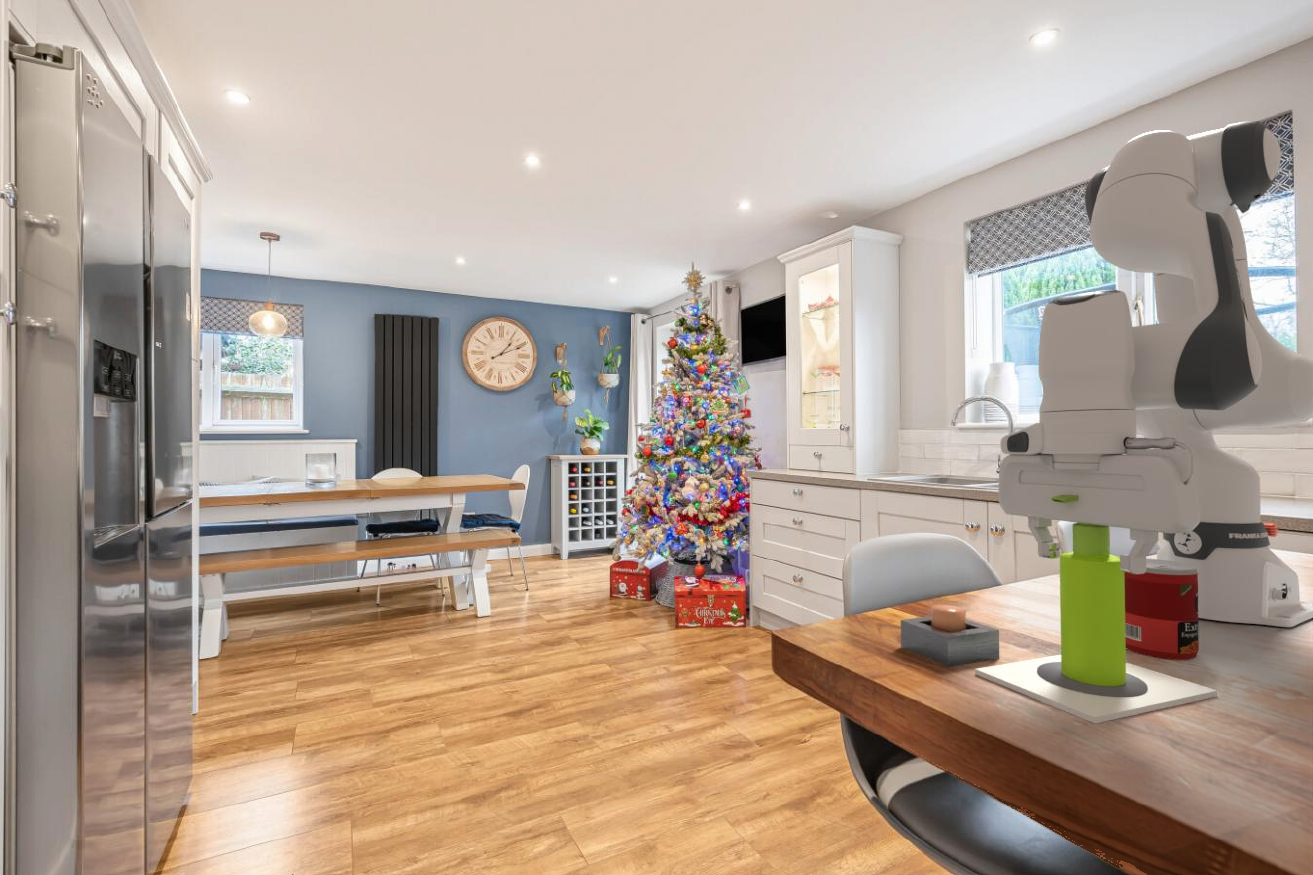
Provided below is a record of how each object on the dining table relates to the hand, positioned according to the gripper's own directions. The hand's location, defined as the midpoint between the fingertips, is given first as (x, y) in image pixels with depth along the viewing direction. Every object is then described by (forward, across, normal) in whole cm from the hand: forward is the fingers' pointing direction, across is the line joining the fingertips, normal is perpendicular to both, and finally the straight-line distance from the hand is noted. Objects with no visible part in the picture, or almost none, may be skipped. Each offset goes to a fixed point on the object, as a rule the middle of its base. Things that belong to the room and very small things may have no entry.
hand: (1088, 564), depth 71 cm
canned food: (+13, +5, -19) cm, 24 cm away
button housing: (+13, +14, +6) cm, 20 cm away
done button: (+11, +14, +6) cm, 19 cm away
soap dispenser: (+12, 0, 0) cm, 13 cm away
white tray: (+13, 0, 0) cm, 13 cm away
